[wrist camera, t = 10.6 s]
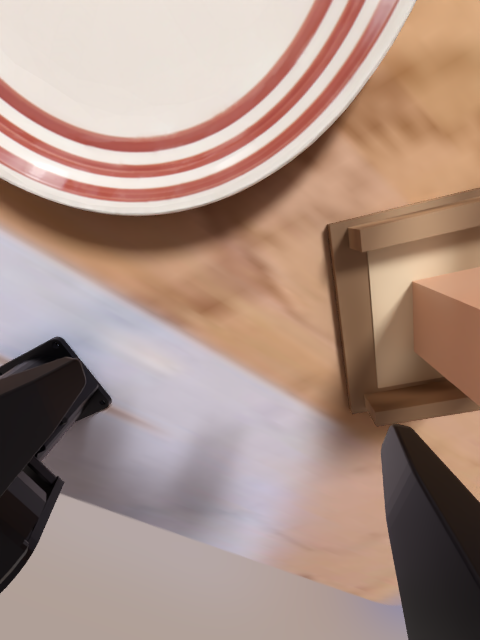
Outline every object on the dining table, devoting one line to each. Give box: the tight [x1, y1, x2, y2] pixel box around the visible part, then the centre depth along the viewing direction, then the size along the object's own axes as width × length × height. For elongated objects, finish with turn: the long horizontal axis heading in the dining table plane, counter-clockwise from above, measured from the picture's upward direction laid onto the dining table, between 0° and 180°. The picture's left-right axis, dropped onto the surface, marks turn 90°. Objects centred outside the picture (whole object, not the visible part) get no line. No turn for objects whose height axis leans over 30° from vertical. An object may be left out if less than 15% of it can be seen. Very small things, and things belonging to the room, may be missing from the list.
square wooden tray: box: [327, 188, 480, 426], centre depth 17 cm, size 14×14×3 cm
